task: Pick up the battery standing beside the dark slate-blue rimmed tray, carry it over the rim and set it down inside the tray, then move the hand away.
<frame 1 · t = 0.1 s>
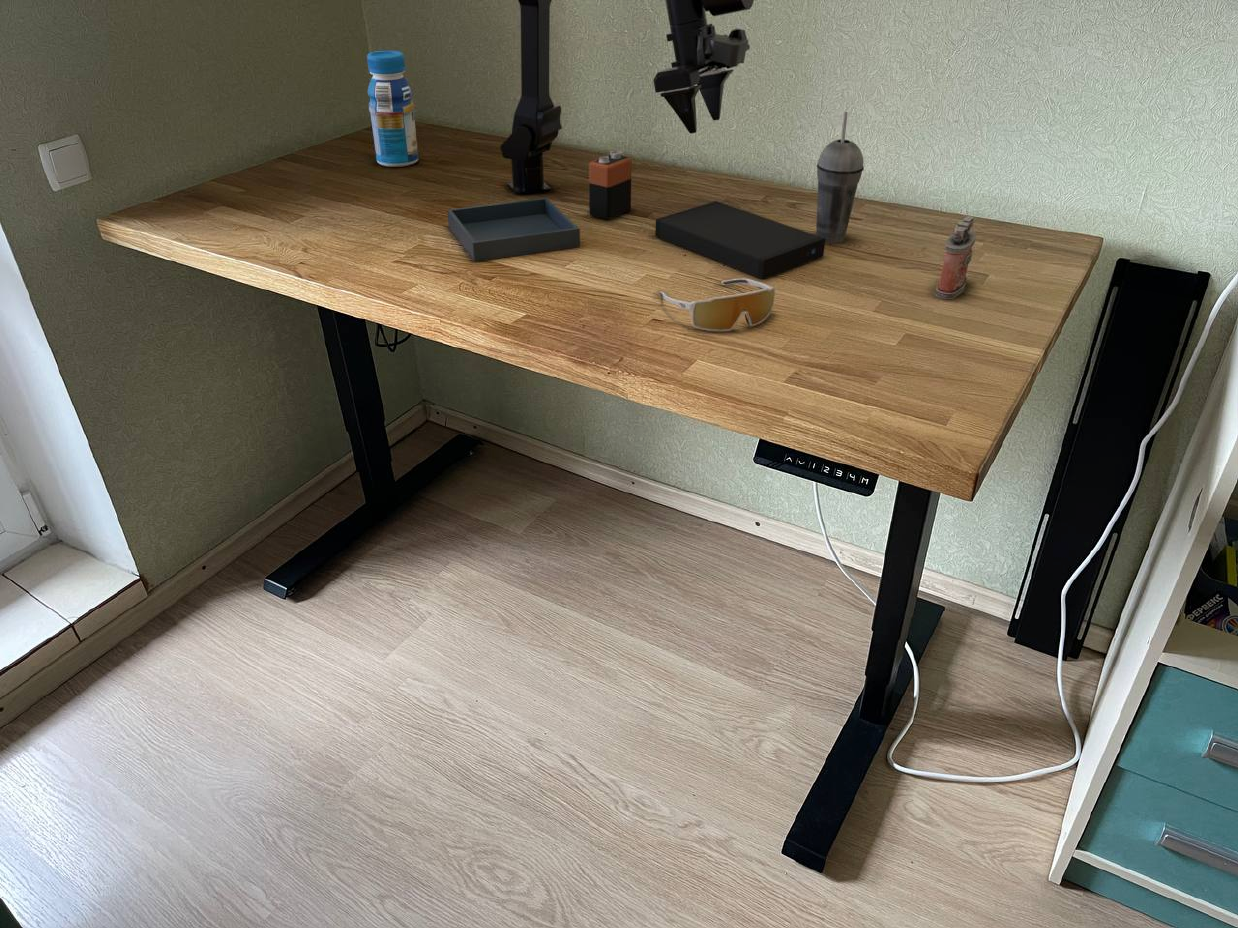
hand: (705, 126, 154), 15 cm above the table, tool pointing down, fingers open, 9 cm apart
battery: (610, 214, 164), on the table
sunglasses: (716, 310, 132), on the table
tray: (512, 237, 154), on the table
lighter: (950, 290, 138), on the table
beverage bottle: (398, 163, 189), on the table
external hard drive: (737, 247, 152), on the table
beverage cup: (830, 239, 155), on the table
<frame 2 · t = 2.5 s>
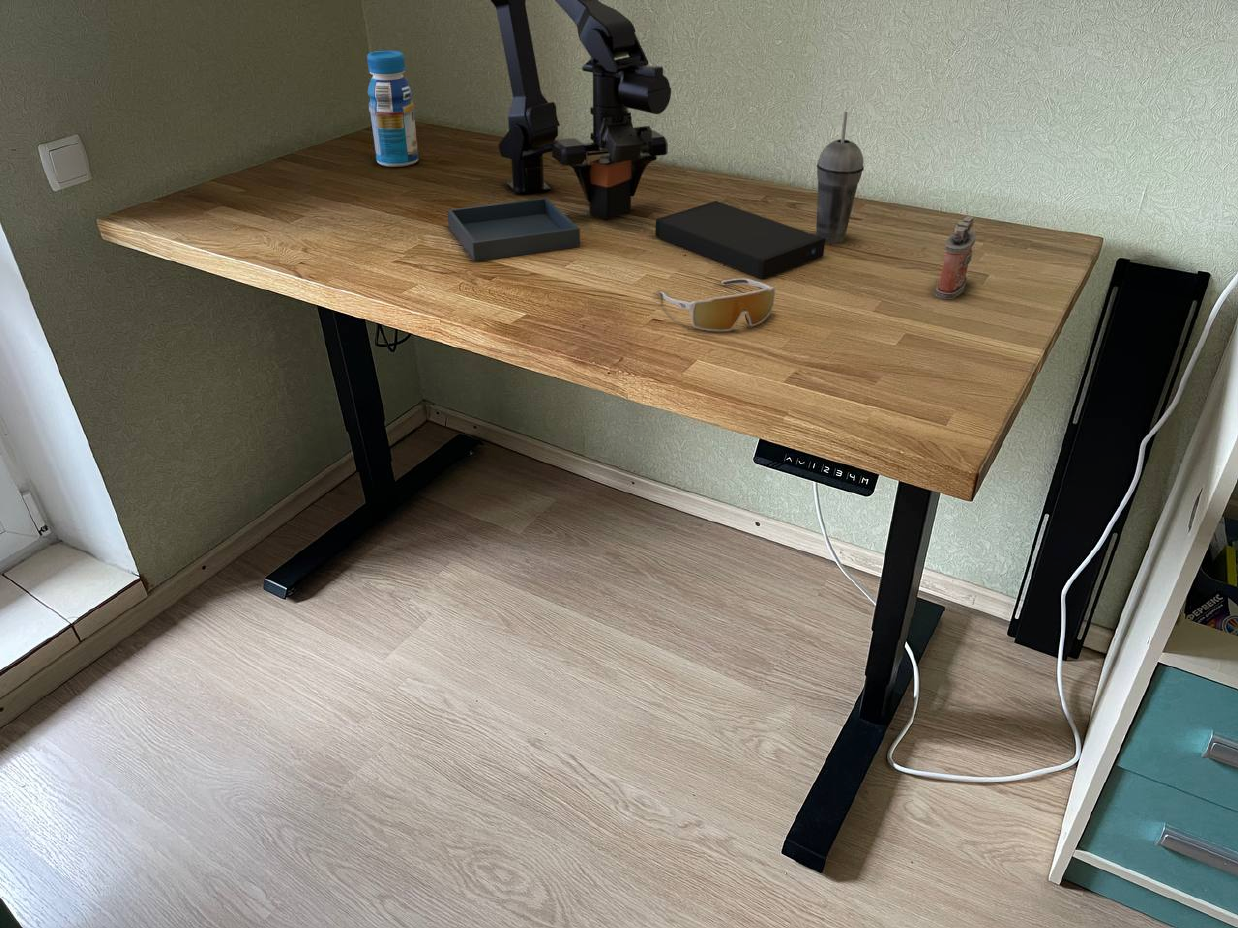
hand: (610, 198, 163), 3 cm above the table, tool pointing down, fingers closed on battery, 7 cm apart
battery: (610, 214, 164), on the table, touching gripper
everything else where it was.
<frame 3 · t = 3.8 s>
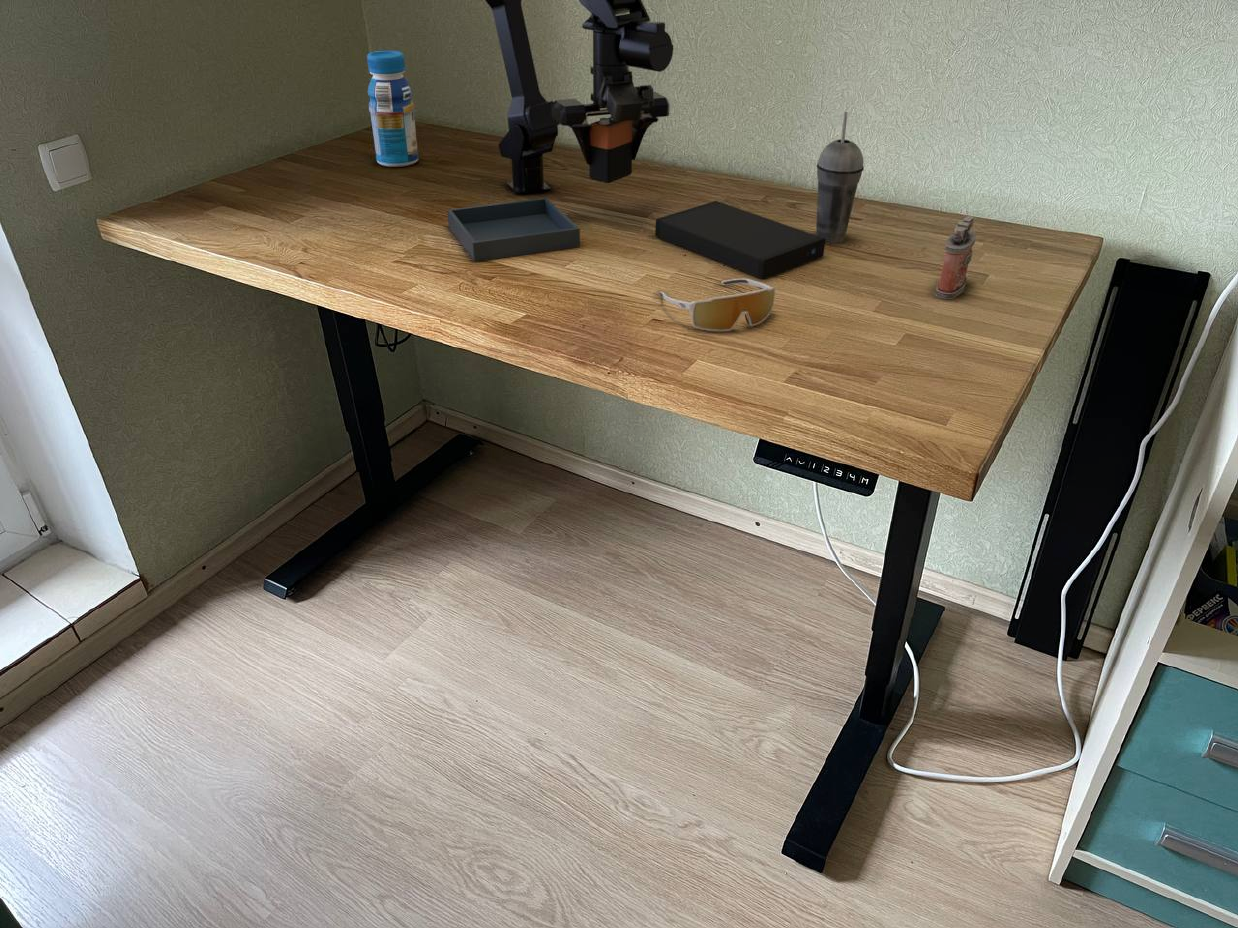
hand: (610, 161, 159), 9 cm above the table, tool pointing down, fingers closed on battery, 7 cm apart
battery: (610, 178, 161), point 6 cm above the table, touching gripper
everything else where it was.
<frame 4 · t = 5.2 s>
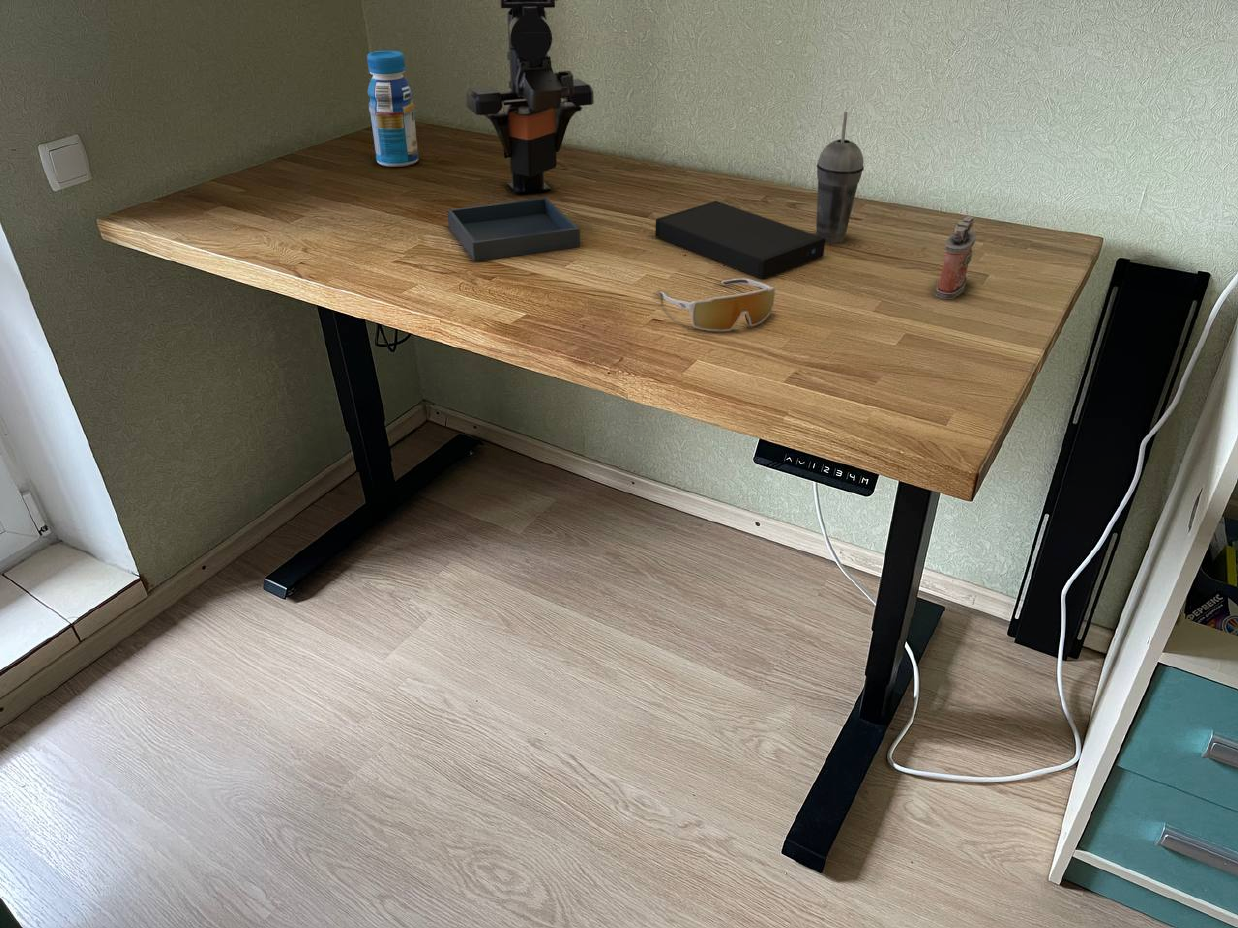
hand: (532, 154, 150), 13 cm above the table, tool pointing down, fingers closed on battery, 7 cm apart
battery: (534, 171, 151), point 10 cm above the table, touching gripper
everything else where it was.
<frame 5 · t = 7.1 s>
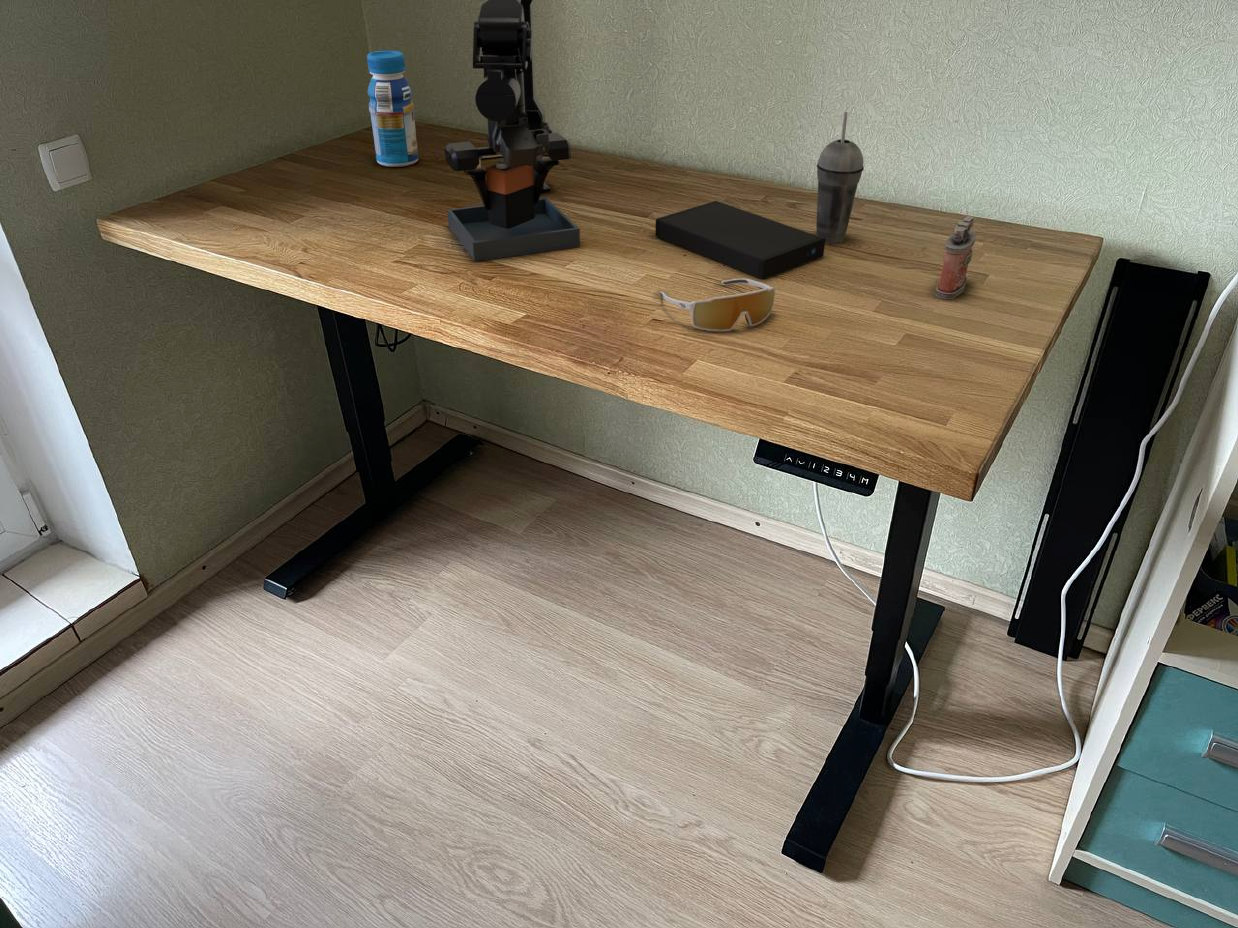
hand: (511, 206, 152), 5 cm above the table, tool pointing down, fingers closed on battery, 7 cm apart
battery: (512, 223, 153), point 2 cm above the table, touching gripper
everything else where it was.
when the fingers open (3 cm above the table, at t = 8.4 s): battery stays where it is, resting on tray.
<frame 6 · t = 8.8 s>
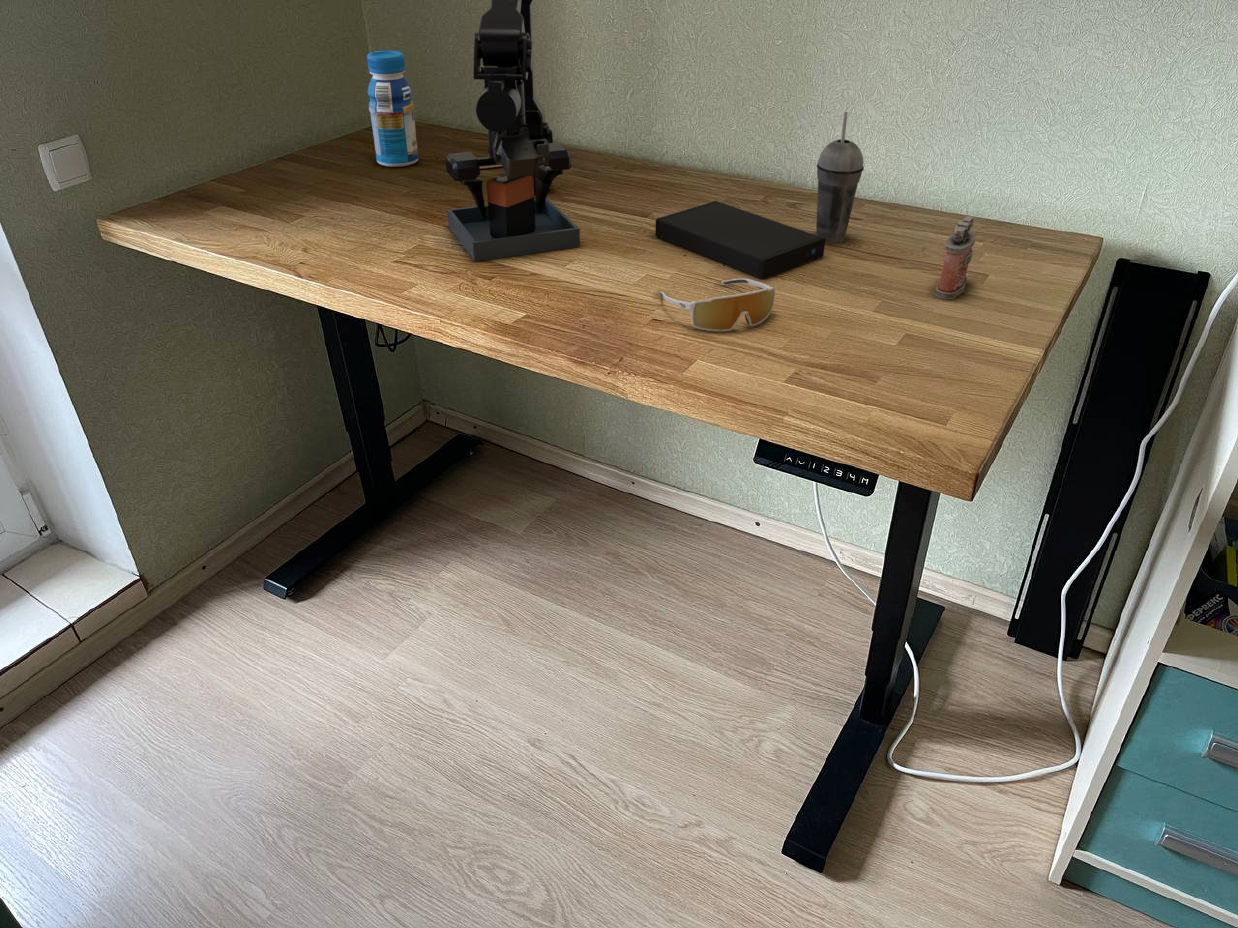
hand: (511, 215, 152), 4 cm above the table, tool pointing down, fingers open, 9 cm apart
battery: (513, 235, 154), resting on tray
everything else where it was.
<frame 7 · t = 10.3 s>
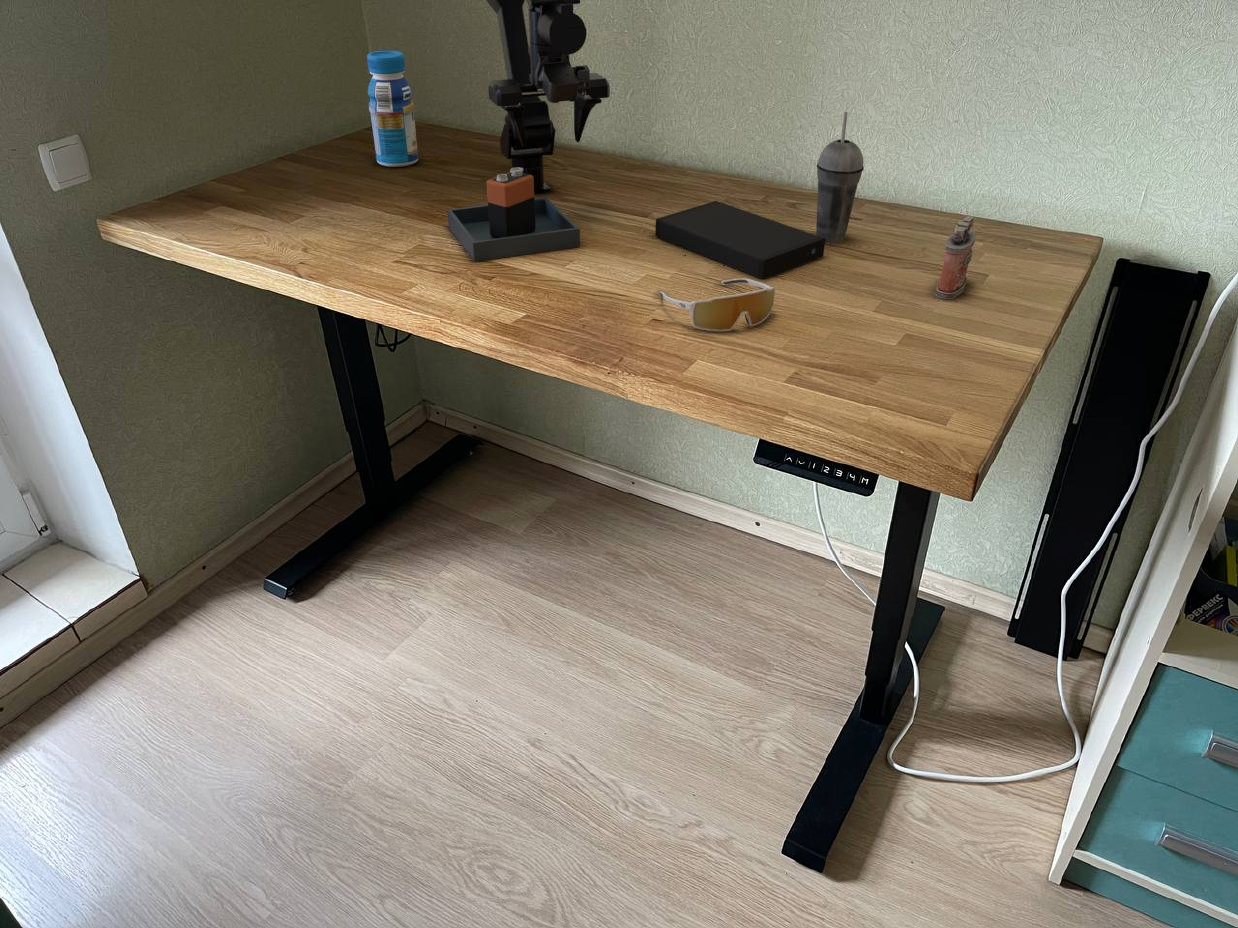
hand: (550, 144, 157), 12 cm above the table, tool pointing down, fingers open, 9 cm apart
nothing on the table moved.
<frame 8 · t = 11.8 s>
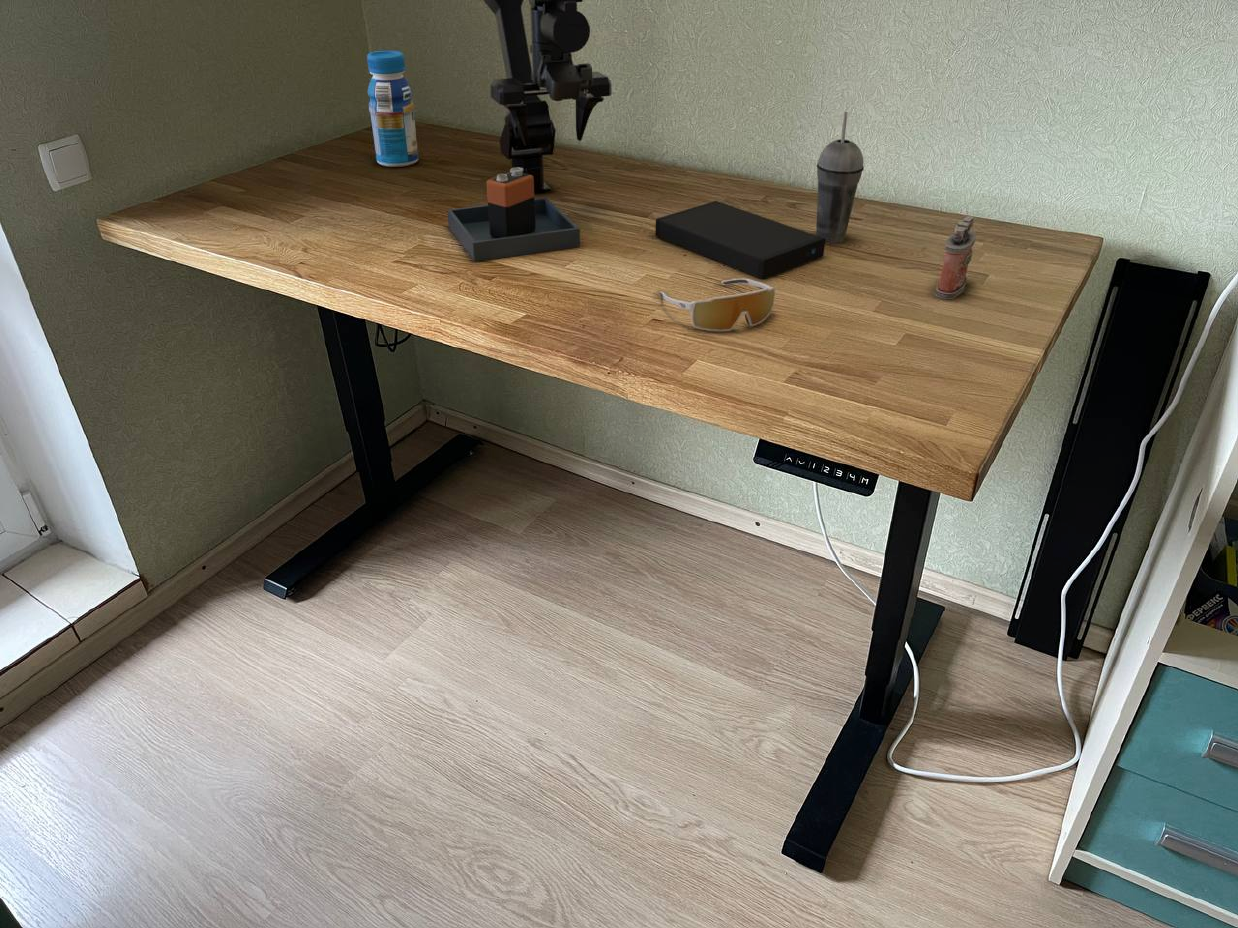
hand: (553, 143, 157), 12 cm above the table, tool pointing down, fingers open, 9 cm apart
nothing on the table moved.
at the end: battery inside the target area in the tray (0.1 cm from its centre), point 0.3 cm above the tray's base; the gripper is holding nothing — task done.
